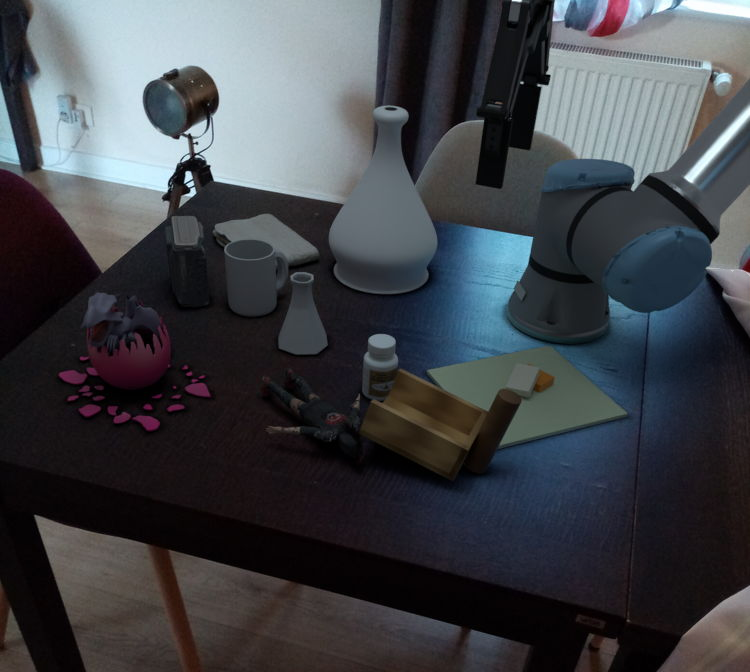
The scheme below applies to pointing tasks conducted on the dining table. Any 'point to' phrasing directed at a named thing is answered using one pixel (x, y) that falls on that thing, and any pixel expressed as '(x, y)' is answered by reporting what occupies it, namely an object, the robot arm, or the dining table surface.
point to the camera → (187, 261)
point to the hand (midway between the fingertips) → (504, 166)
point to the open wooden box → (439, 425)
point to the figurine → (317, 415)
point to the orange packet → (543, 381)
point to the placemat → (541, 410)
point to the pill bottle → (379, 367)
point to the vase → (384, 220)
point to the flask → (302, 320)
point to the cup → (254, 276)
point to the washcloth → (268, 237)
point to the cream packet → (523, 379)
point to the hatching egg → (126, 354)
